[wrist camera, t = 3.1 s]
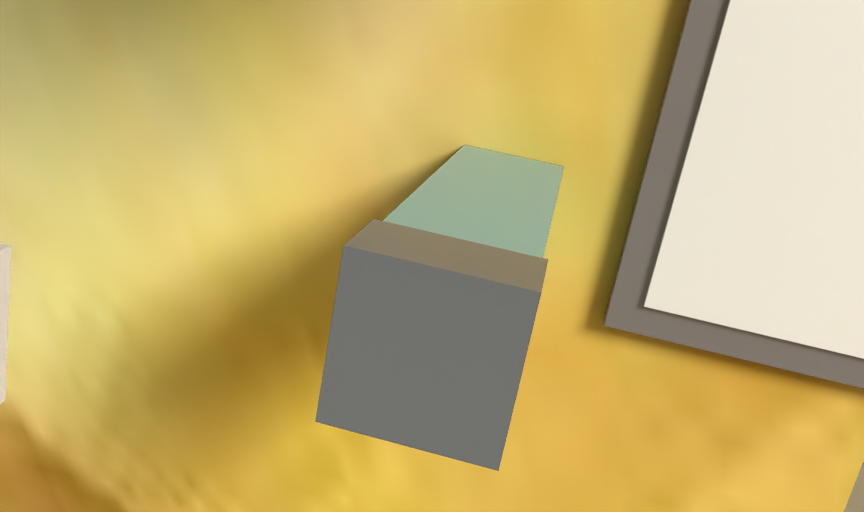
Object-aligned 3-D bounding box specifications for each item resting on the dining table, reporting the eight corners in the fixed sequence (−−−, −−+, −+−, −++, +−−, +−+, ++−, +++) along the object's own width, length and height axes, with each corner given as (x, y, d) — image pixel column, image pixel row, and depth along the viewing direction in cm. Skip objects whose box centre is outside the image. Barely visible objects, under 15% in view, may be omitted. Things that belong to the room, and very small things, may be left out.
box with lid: (442, 242, 27) (314, 422, 15) (461, 141, 26) (343, 245, 14) (543, 265, 27) (498, 470, 15) (567, 164, 26) (541, 292, 14)
